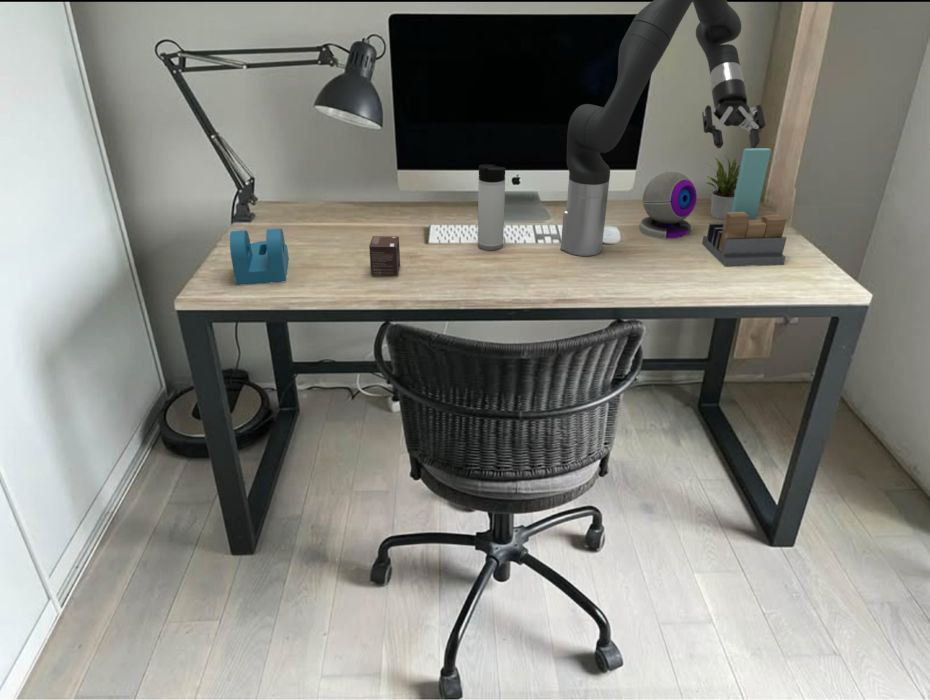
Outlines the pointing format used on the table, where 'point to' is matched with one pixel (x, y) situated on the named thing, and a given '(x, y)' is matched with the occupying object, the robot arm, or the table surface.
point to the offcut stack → (751, 227)
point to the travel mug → (491, 206)
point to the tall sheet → (751, 181)
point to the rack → (744, 248)
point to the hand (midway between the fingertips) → (737, 146)
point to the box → (384, 256)
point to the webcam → (668, 205)
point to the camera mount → (259, 257)
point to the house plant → (723, 189)
